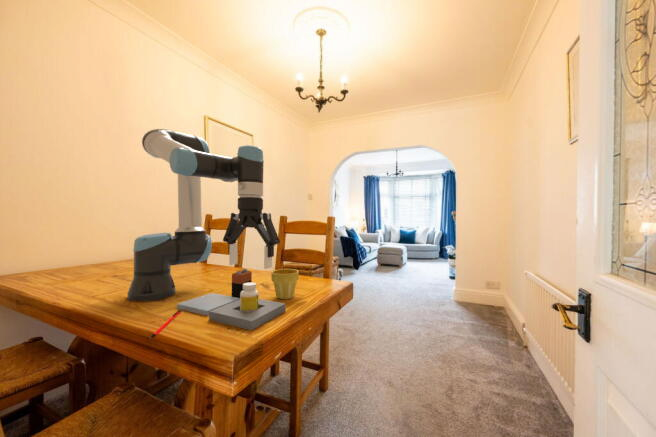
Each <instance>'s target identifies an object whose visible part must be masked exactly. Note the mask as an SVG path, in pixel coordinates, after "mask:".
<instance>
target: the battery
mask: <svg viewBox="0 0 656 437" xmlns="http://www.w3.org/2000/svg"><path fill="white" fill-rule="evenodd" d="M252 276H253V274H252V271H250V270H248V268H242V269H241V270H237V271H236V272H233V273H232V274H231V297H237V298H240V293H241V292H242V291H243V290H244V289H243V284H244V283H249V282H252Z"/></svg>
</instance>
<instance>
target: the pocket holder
mask: <svg viewBox="0 0 656 437" xmlns="http://www.w3.org/2000/svg"><path fill="white" fill-rule="evenodd" d="M285 312H286V303H285V302H279V301H272V300H268V299H263V298H262V299H261V298H258V309H257V310H255V311H253V312H251V313H248V312H244V311H240V300H237V301H235V302H232V303H229V304H227V305H224V306H222V307H219V308H217V309H214V310H211V311H209V315H208V321H212V322H216V323H220V324H224V325H228V326H233V327H235V328H240V329H241V328H242V329H244V330H245V329H246V330H250V331H253V330H255V329H257V328H258V327H260V326H262V325H263V324H265V323H268V322H269V321H271V320H273V319H274V318H276V317H278V316H279V315H281V314H283V313H285Z"/></svg>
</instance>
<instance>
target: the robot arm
mask: <svg viewBox="0 0 656 437" xmlns="http://www.w3.org/2000/svg"><path fill="white" fill-rule="evenodd" d="M141 144H142V148H143V150H144V151H145V152H146V153H147V154H149V155H150V156H151V157H153V158H156V159H162V160H164V161H165V162H167V163H169V166H170V170H171V171H172V173H174V174H177V198H178V199H177V201H178V202H177V206H178V207H177V208H178V213H177V214H178V226H177V228H176V230H175V231H174V235H172V233H170V232H160V233H159V232H158V233H150V234H143V235H140V236H138V237H137V238H135V239H134V242H133V249H132V251H133V276H132V277H133V278H132V280H131V283H130V285H129V288H128V291H127V300H128V301H130V302H151V301H156V300H163V299H165V298H169V297H171V296H173V295H175V294H176V284H175V282H174V280H173V277H172V274H171V266H178V265H187V264H197V263H201V262H205V261H206V260H207V259H208V258H209V256H210V255H211V252H212V247H213V244H212V242H213V241H212V237H211V236H210V235H209V234H207V232H206V231H207V230H206V229H205V228H203V226H202V221H203V220H202V188H201V187H202V185H201V182H202V180H201V179H202V178H208V179H213V180H221V181H222V182H225V183H233V182H237V196H239V197H238V198H237V209H238V211H239V212H231V213H230V220H229V223H228V225H227V227H226V230H225V233H224V235H223V238H222V241H223V242H224V243H227V248H228V249H227V253H228V255H229V258H228V259H229V261H228V262H229V266H234V265H238V262H239V261H238V258H239V257H238V256H239V255H238V249H239V247H238V242H237V241H238V240H239V238H240V236H241V234H243V232H244V231H245V229H247V228H254V229H255V230H256V231H257V233H258V234H259V236H260V237H261V239H262V241H263V242H264V244H265V246H264V248H263V250H264V252H263V253H264V256H263V257H264V258H263V262H264V264H263V265H264V266H263V268H264V269H265V270H267V269H271V268H273V257H274V255H275V246H277V245H280V243H281V241H280V238H279V236H278V233H277V231H276V228H275V226H274V223H273V220H272V214H271V212H262V211H263V210H264V199H263V198H262V197H263V196H264V162H265V161H264V151H263V149H262V148H261V147H259V146H256V145H248V144H247V145H246V144H245V145H241V146H239V147H238V149H237V154H236V155H237V156H234V157H232V156H231V157H229V156H226V155H219V154H214V153H210V152H211V151H210V147H209V144H208V143H207V141H206V140H205V139H204V138H202V137H199V136H196V135H195V134H194V135H193V134H188V133H183V132H178V131H175V130H171V129H165V128H156V129H155V128H154V129H151V130H149V131H147V132H146V133H144V134H143V136H142V140H141ZM262 220H263V221H262Z"/></svg>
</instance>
